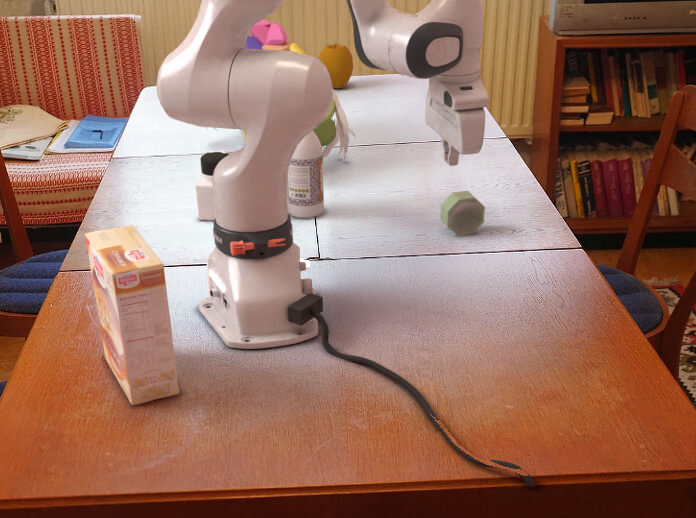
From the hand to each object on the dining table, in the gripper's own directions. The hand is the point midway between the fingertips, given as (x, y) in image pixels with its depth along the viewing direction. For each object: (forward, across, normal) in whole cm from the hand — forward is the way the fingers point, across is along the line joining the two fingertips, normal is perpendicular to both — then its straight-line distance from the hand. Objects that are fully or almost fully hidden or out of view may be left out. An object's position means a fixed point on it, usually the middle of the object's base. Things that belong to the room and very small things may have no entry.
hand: (450, 163), depth 177 cm
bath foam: (+10, -11, -25) cm, 29 cm away
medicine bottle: (+10, -15, -41) cm, 45 cm away
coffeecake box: (+10, +43, -61) cm, 76 cm away
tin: (+7, +8, 0) cm, 10 cm away
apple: (+12, -98, +3) cm, 99 cm away
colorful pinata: (+11, -47, -23) cm, 53 cm away
